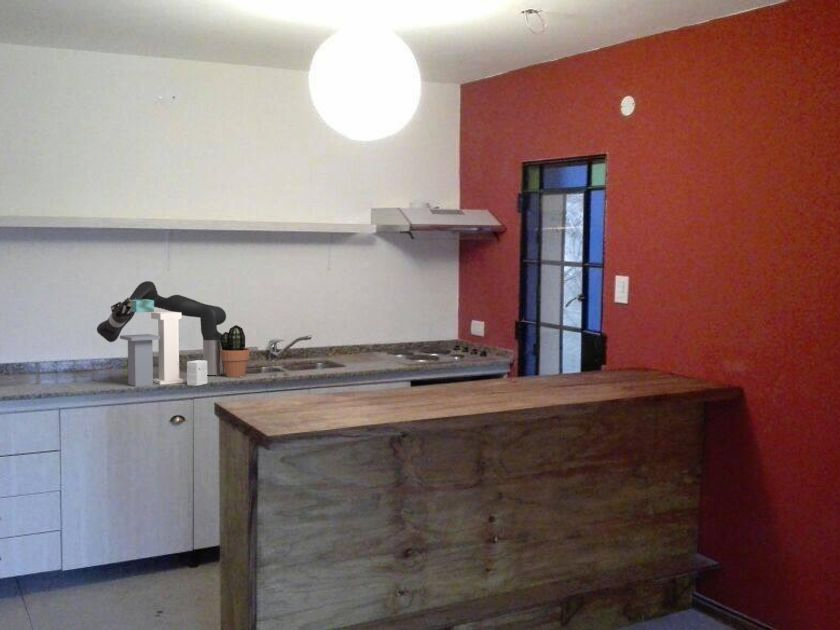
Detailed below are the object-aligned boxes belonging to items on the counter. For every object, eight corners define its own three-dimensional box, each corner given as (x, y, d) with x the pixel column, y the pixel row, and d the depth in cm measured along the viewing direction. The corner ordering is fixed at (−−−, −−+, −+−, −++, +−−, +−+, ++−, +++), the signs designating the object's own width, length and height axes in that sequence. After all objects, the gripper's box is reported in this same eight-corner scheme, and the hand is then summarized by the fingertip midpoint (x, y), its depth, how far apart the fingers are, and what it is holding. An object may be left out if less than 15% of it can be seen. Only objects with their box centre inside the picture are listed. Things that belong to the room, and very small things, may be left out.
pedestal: (148, 381, 389) (148, 334, 387) (160, 385, 379) (160, 336, 378) (120, 384, 380) (119, 335, 379) (132, 387, 371) (131, 337, 369)
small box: (197, 382, 387) (197, 359, 387) (207, 383, 385) (207, 360, 385) (186, 385, 380) (186, 361, 379) (197, 385, 378) (196, 362, 377)
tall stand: (173, 379, 395) (173, 311, 393) (183, 382, 388) (182, 312, 386) (151, 382, 388) (150, 312, 386) (160, 384, 381) (159, 313, 378)
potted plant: (248, 374, 417) (247, 323, 416) (251, 377, 404) (251, 325, 403) (219, 375, 413) (219, 323, 411) (222, 378, 400) (221, 326, 398)
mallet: (135, 307, 391) (135, 296, 390) (153, 311, 376) (153, 300, 375) (118, 308, 385) (118, 297, 385) (136, 312, 370) (136, 301, 370)
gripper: (135, 323, 399) (148, 306, 387) (106, 324, 389) (118, 307, 378) (132, 308, 401) (145, 291, 389) (102, 309, 392) (115, 292, 380)
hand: (132, 299), depth 383 cm, fingers closed on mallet, 2 cm apart
